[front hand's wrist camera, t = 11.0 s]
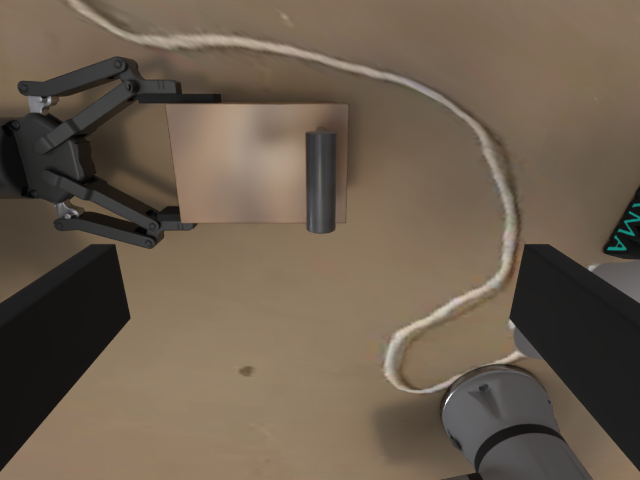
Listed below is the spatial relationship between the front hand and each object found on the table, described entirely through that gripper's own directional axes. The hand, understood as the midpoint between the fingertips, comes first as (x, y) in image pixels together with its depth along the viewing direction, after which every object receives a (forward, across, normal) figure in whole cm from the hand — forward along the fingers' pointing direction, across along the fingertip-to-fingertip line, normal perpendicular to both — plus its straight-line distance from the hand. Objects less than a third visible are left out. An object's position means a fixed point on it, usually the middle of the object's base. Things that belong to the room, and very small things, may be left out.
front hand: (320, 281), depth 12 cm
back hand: (+25, +9, 0) cm, 27 cm away
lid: (+22, +5, 0) cm, 23 cm away
